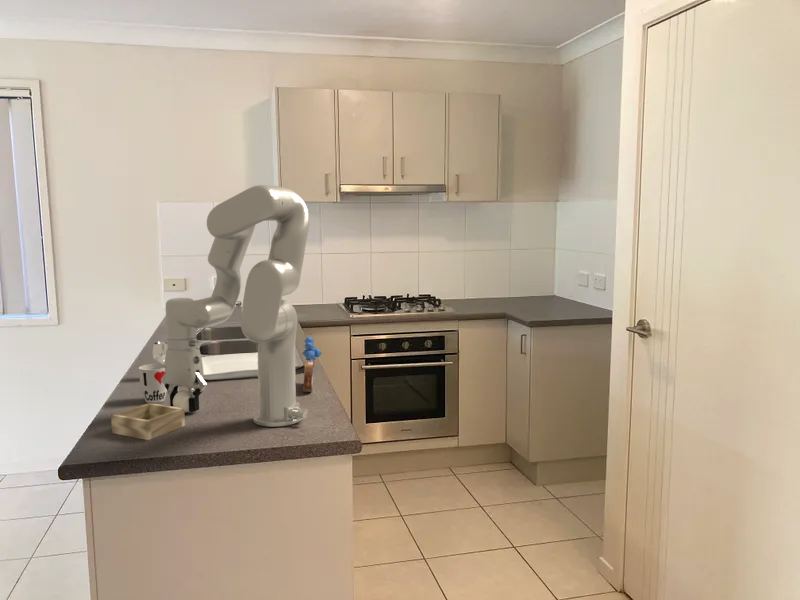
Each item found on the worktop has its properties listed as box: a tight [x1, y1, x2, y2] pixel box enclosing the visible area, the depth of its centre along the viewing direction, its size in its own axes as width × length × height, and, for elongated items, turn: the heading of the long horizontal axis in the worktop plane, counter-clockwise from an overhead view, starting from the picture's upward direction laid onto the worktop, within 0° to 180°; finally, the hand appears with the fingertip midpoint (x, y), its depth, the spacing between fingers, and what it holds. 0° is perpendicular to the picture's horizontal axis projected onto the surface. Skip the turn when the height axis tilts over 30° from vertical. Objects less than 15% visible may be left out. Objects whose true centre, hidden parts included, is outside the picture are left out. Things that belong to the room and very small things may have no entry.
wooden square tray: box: [110, 402, 186, 441], centre depth 162 cm, size 12×12×4 cm
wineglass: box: [152, 341, 167, 364], centre depth 213 cm, size 6×6×12 cm
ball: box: [173, 389, 190, 414], centre depth 177 cm, size 6×6×6 cm
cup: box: [138, 363, 168, 404], centre depth 188 cm, size 8×8×10 cm
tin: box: [302, 359, 315, 393], centre depth 201 cm, size 15×3×8 cm, turn 6°
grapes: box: [302, 336, 323, 367], centre depth 226 cm, size 12×7×12 cm, turn 8°
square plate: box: [201, 352, 258, 381], centre depth 225 cm, size 27×27×4 cm
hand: (184, 408), depth 177 cm, fingers closed on ball, 5 cm apart
